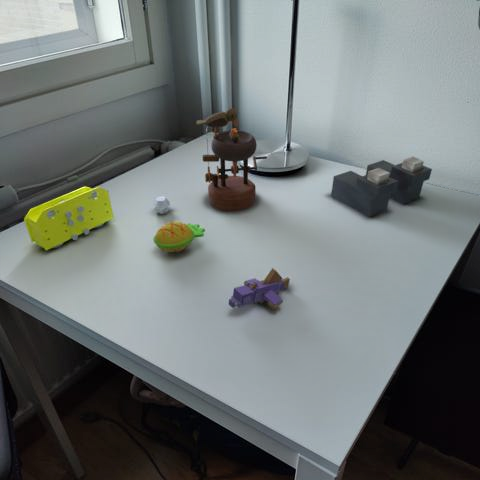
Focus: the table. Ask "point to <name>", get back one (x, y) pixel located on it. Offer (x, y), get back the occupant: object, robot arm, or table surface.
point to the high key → (378, 176)
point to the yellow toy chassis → (68, 216)
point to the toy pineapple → (177, 236)
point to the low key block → (403, 180)
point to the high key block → (363, 192)
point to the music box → (232, 149)
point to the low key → (412, 164)
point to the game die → (161, 205)
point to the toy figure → (260, 291)
